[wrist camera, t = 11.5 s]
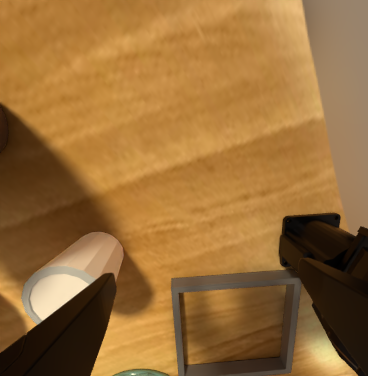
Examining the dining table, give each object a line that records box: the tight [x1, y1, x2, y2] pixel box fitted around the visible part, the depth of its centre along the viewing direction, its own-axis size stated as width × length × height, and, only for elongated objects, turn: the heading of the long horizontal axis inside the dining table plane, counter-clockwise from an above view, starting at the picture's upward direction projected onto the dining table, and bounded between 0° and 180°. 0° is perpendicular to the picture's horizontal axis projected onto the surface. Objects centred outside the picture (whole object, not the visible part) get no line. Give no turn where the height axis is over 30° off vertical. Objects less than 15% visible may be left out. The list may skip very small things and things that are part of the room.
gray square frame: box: [171, 269, 301, 376], centre depth 24 cm, size 16×16×2 cm
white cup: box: [21, 232, 124, 324], centre depth 18 cm, size 7×7×7 cm
